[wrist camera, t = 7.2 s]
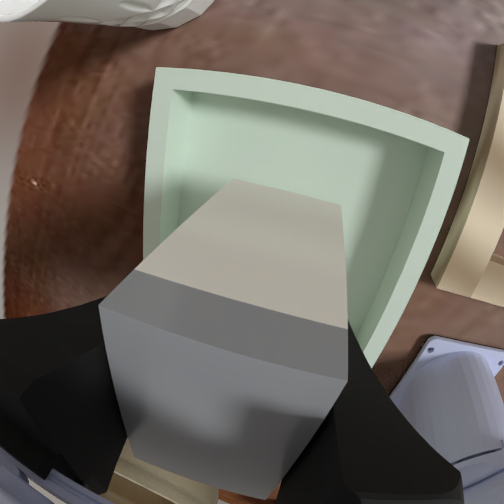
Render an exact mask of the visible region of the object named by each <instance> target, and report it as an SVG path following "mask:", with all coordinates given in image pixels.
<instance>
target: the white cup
mask: <svg viewBox="0 0 504 504" xmlns="http://www.w3.org/2000/svg"><path fill="white" fill-rule="evenodd" d="M214 1H215V0H0V22H19V21H20V22H22V21H48V22H69V23H82V24H102V25H109V26H123V27H137V28H142V29H147V30H160V29H168V28H177V27H179V26H181V25H183V24H184V23H186V22H188V21H190V20H192V19H194V18H196V17H198V16H200V15H202V14H203V13H204V11H205V10H206V9H207V8H208V7H209V6H210V5H211V4H212V3H213V2H214Z"/></svg>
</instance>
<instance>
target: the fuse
mask: <svg viewBox="0 0 504 504" xmlns="http://www.w3.org/2000/svg"><path fill="white" fill-rule="evenodd" d="M99 312H100V318H101V325H102V331H103V336H104V342H105V347H106V352H107V357H108V362H109V367H110V371H111V376H112V380H113V384H114V389H115V393H116V397H117V401H118V405H119V408H120V412H121V416H122V419H123V423H124V426H125V430H126V433H127V437H128V440H129V443H130V446H131V449H132V452H133V456H134V457H135V458H137V459H139V460H142V461H144V462H146V463H149V464H151V465H154V466H156V467H159V468H161V469H164V470H166V471H169V472H172V473H174V474H177V475H180V476H182V477H185V478H188V479H191V480H194V481H197V482H200V483H203V484H206V485H210V486H213V487H216V488H220V489H223V490H227V491H230V492H234V493H238V494H242V495H246V496H250V497H254V498H258V499H263V500H266V499H267V498H268V496H269V495H270V494H271V493H272V491H273V490H274V489H275V488H276V486H277V485H278V484H279V482H280V481H281V480H282V479H283V477H284V476H285V475H286V473H287V472H288V471H289V469H290V468H291V467H292V465H293V464H294V462H295V461H296V460H297V458H298V457H299V456H300V454H301V453H302V451H303V450H304V448H305V447H306V446H307V444H308V443H309V441H310V440H311V438H312V437H313V435H314V434H315V432H316V431H317V429H318V428H319V426H320V425H321V423H322V422H323V420H324V419H325V417H326V416H327V414H328V413H329V411H330V409H331V408H332V406H333V405H334V403H335V401H336V400H337V398H338V396H339V395H340V393H341V391H342V390H343V388H344V386H345V385H346V383H347V381H348V311H347V283H346V263H345V247H344V234H343V221H342V210H341V205H340V204H336V203H332V202H328V201H325V200H321V199H317V198H313V197H309V196H305V195H302V194H298V193H294V192H290V191H285V190H281V189H277V188H273V187H269V186H265V185H260V184H256V183H252V182H247V181H243V180H238V179H234V178H233V179H232V180H231V181H230V182H229V183H227V184H226V185H225V186H224V187H223V188H222V189H221V190H219V191H218V192H217V193H216V194H215V195H214V196H213V197H211V198H210V199H209V200H208V201H207V202H206V203H205V204H204V205H202V206H201V207H200V208H199V209H198V210H197V211H196V212H195V213H194V214H192V215H191V216H190V217H189V218H188V219H187V220H186V221H185V222H184V223H183V224H181V225H180V226H179V227H178V228H177V229H176V230H175V231H174V232H173V233H172V234H171V235H170V236H169V237H167V238H166V239H165V240H164V241H163V242H162V243H161V244H160V245H159V246H158V247H157V248H156V249H155V250H154V251H153V252H152V253H151V254H149V255H148V256H147V257H146V258H145V259H144V260H143V261H142V262H141V263H140V264H139V265H138V266H137V267H136V268H135V269H134V270H133V271H132V272H131V273H130V274H129V275H128V276H127V277H126V278H125V279H124V280H123V281H122V282H121V283H120V284H119V285H118V286H117V287H116V288H115V289H114V290H113V291H112V292H111V293H110V294H109V295H108V296H107V297H106V298H105V299H104V300H103V301H102V302H101V303H100V304H99Z"/></svg>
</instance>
